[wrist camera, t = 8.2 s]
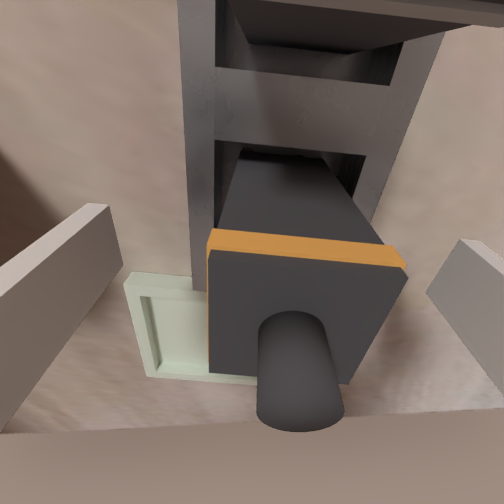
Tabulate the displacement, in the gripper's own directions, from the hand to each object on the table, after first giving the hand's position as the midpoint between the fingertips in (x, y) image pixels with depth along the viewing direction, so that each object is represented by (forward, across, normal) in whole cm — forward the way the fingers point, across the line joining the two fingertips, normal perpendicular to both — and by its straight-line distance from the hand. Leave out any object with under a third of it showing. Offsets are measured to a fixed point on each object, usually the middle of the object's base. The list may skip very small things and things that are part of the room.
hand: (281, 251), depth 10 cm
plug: (+6, 0, 0) cm, 6 cm away
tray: (+7, -4, -14) cm, 16 cm away
